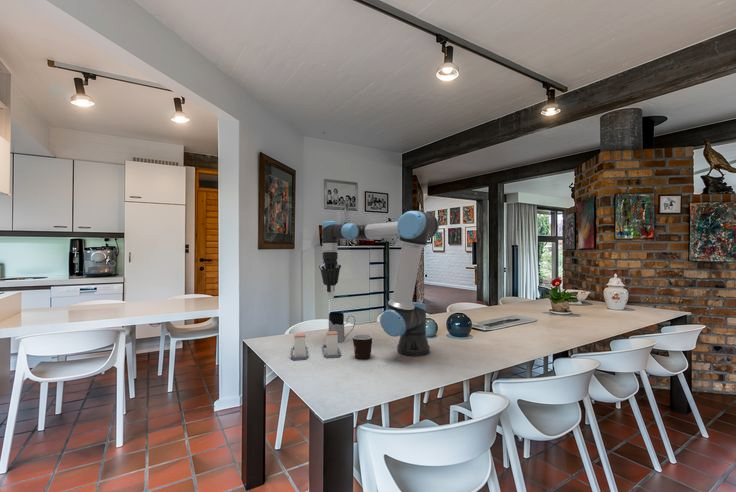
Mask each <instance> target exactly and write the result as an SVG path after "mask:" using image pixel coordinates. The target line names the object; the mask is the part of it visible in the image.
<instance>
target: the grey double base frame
mask: <svg viewBox="0 0 736 492" xmlns="http://www.w3.org/2000/svg"><path fill="white" fill-rule="evenodd" d="M325 349H326V343H325V344H323V345H322V346H321V351H322V355H323V358H325V359H340V358H341V357H342V353H341V350H340V348H339V347H338V354H330V355H327V354H326V350H325ZM290 350H291V351H290V360H291V361H292V362H293V361H308V360H307V359H309V358H310V357H309V355H310V354H309V348H308V346H307V345H305V356H298V357H294V345H293V346H292V347H291V348H290Z"/></svg>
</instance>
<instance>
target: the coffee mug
mask: <svg viewBox="0 0 736 492" xmlns="http://www.w3.org/2000/svg"><path fill="white" fill-rule="evenodd" d="M352 342H353V351H354V359H356V360H360V361H366V360H370V359H371V355H372V346H373V335H371V334H355V335H353V336H352Z"/></svg>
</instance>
